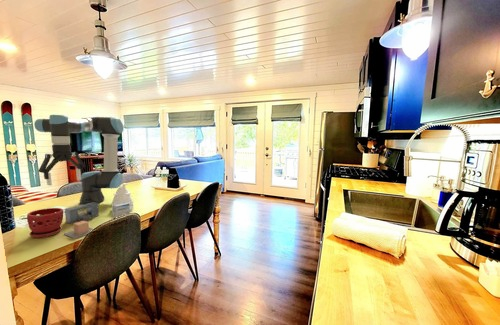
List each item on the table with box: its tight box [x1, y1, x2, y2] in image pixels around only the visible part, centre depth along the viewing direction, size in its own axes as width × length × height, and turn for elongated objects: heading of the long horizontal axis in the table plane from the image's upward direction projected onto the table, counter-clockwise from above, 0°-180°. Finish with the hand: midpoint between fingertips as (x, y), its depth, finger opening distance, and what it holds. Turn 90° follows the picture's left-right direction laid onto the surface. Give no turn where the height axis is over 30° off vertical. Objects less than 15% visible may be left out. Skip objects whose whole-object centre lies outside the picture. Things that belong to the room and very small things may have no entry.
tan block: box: [72, 220, 90, 235], centre depth 108 cm, size 4×4×5 cm
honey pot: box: [111, 182, 134, 213], centre depth 144 cm, size 13×13×18 cm
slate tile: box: [63, 226, 94, 240], centre depth 109 cm, size 10×10×1 cm
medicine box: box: [112, 203, 131, 218], centre depth 130 cm, size 8×4×9 cm, turn 148°
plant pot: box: [26, 207, 64, 239], centre depth 107 cm, size 13×13×12 cm
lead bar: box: [78, 211, 92, 222], centre depth 127 cm, size 4×10×3 cm, turn 57°
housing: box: [64, 202, 99, 225], centre depth 127 cm, size 15×5×8 cm, turn 155°
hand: (65, 182), depth 116 cm, fingers open, 13 cm apart
